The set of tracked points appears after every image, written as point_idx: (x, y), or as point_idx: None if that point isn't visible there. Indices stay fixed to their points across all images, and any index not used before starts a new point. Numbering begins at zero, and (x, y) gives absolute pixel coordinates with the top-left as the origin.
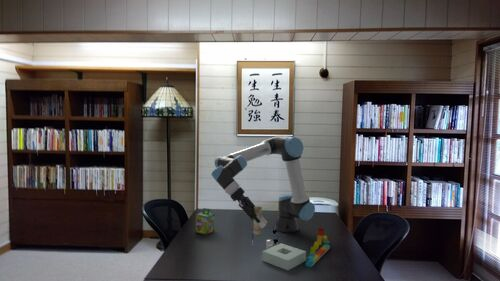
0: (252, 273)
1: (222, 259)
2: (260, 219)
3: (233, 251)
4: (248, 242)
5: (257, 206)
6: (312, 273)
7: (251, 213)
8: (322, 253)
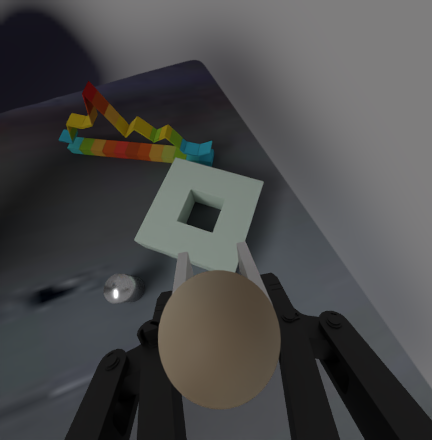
0: (329, 273)
1: None
2: (259, 274)
3: (203, 422)
4: None
5: (193, 354)
6: (244, 146)
7: (373, 360)
8: (131, 143)
